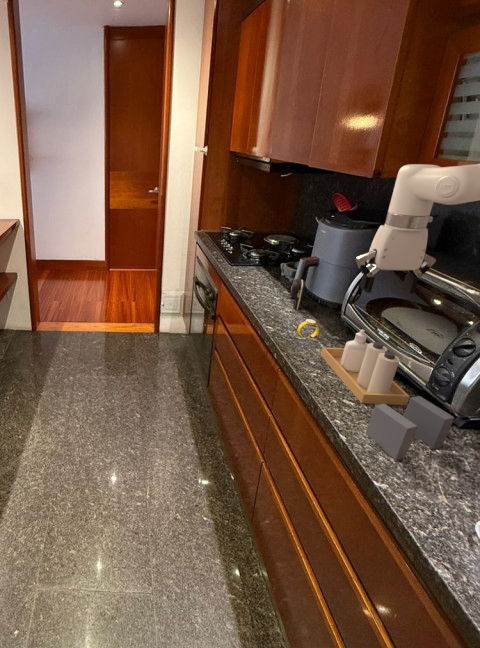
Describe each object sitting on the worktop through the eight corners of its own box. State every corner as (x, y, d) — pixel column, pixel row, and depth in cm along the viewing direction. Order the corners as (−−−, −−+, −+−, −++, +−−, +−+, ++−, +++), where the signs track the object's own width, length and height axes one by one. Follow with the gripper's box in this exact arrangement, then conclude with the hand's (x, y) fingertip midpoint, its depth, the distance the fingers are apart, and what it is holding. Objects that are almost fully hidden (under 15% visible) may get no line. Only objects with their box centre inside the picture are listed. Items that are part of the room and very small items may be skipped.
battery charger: (287, 305, 144) (292, 276, 140) (298, 307, 142) (304, 278, 138) (287, 313, 138) (293, 283, 134) (298, 315, 137) (305, 285, 132)
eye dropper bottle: (362, 376, 102) (374, 336, 97) (338, 368, 105) (348, 329, 101) (365, 369, 105) (377, 330, 100) (341, 361, 108) (352, 323, 104)
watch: (298, 339, 121) (302, 322, 118) (294, 335, 123) (298, 318, 121) (318, 340, 120) (322, 323, 118) (314, 335, 123) (318, 318, 121)
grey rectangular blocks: (408, 425, 86) (419, 395, 83) (441, 448, 80) (454, 417, 76) (364, 435, 83) (374, 405, 80) (395, 460, 77) (407, 428, 74)
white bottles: (353, 379, 100) (365, 339, 96) (369, 380, 100) (382, 339, 96) (372, 400, 93) (386, 357, 88) (390, 401, 92) (405, 358, 88)
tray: (320, 356, 112) (322, 347, 110) (356, 358, 111) (359, 348, 110) (360, 405, 92) (364, 394, 91) (405, 407, 91) (409, 396, 90)
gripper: (434, 218, 91) (413, 286, 97) (357, 218, 92) (341, 285, 98) (459, 225, 84) (435, 297, 90) (375, 224, 85) (357, 296, 91)
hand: (386, 291), depth 94 cm, fingers open, 9 cm apart
